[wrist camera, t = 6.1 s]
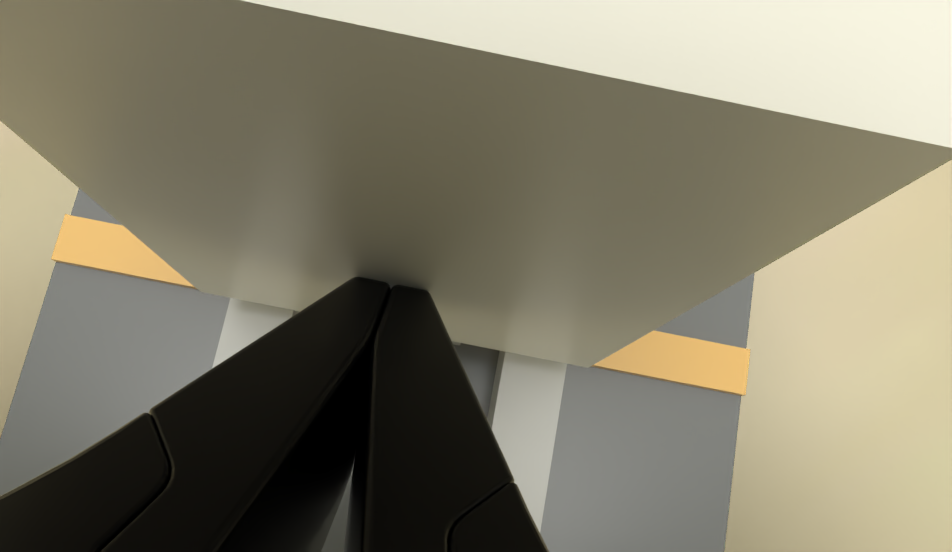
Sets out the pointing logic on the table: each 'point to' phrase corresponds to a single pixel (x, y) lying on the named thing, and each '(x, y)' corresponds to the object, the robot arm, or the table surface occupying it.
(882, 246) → the table surface
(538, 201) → the fader handle
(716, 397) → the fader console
